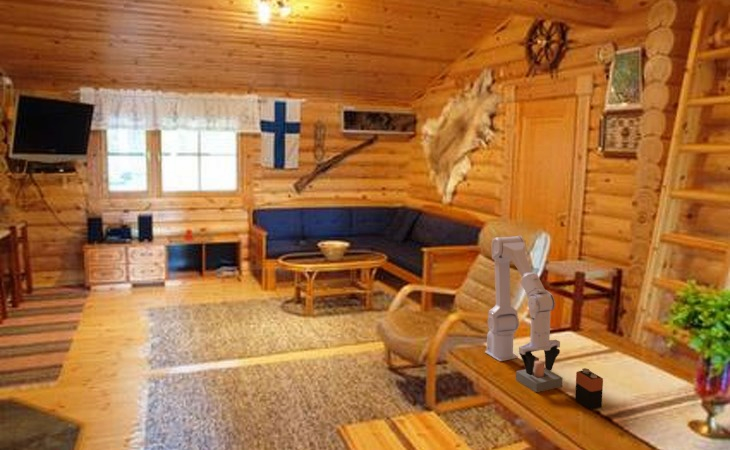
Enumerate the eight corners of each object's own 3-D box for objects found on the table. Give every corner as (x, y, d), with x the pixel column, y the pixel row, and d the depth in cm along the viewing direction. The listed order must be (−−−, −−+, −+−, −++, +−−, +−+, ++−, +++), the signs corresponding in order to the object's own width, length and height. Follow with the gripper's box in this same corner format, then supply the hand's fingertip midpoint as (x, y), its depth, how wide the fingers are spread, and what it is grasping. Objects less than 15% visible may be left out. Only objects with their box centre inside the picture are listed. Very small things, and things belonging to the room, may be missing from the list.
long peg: (531, 382, 178) (532, 361, 177) (539, 380, 179) (539, 360, 178) (537, 386, 175) (538, 365, 174) (545, 384, 176) (546, 363, 175)
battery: (586, 397, 167) (588, 366, 165) (602, 408, 160) (604, 375, 159) (574, 400, 166) (575, 368, 164) (589, 410, 159) (591, 377, 158)
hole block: (515, 379, 180) (516, 371, 179) (540, 374, 184) (540, 365, 183) (536, 392, 171) (536, 383, 170) (562, 386, 174) (562, 377, 174)
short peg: (527, 368, 188) (527, 357, 188) (534, 367, 189) (534, 356, 189) (533, 372, 185) (533, 360, 185) (540, 370, 187) (540, 359, 186)
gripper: (529, 338, 168) (528, 380, 170) (567, 331, 173) (565, 372, 176) (515, 331, 174) (514, 372, 177) (551, 324, 180) (550, 364, 182)
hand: (538, 371), depth 176 cm, fingers open, 7 cm apart
